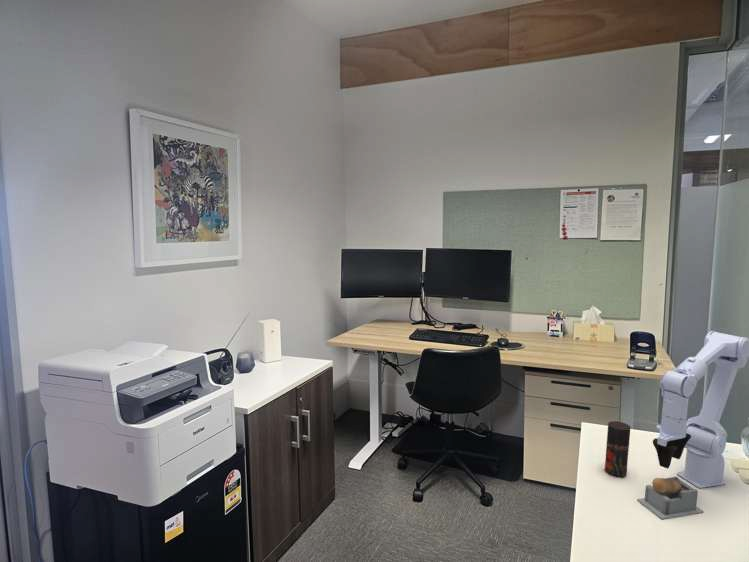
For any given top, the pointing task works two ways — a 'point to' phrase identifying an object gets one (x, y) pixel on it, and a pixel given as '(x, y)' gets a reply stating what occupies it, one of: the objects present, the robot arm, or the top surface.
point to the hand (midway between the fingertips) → (669, 462)
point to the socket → (671, 502)
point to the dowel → (667, 485)
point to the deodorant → (617, 449)
